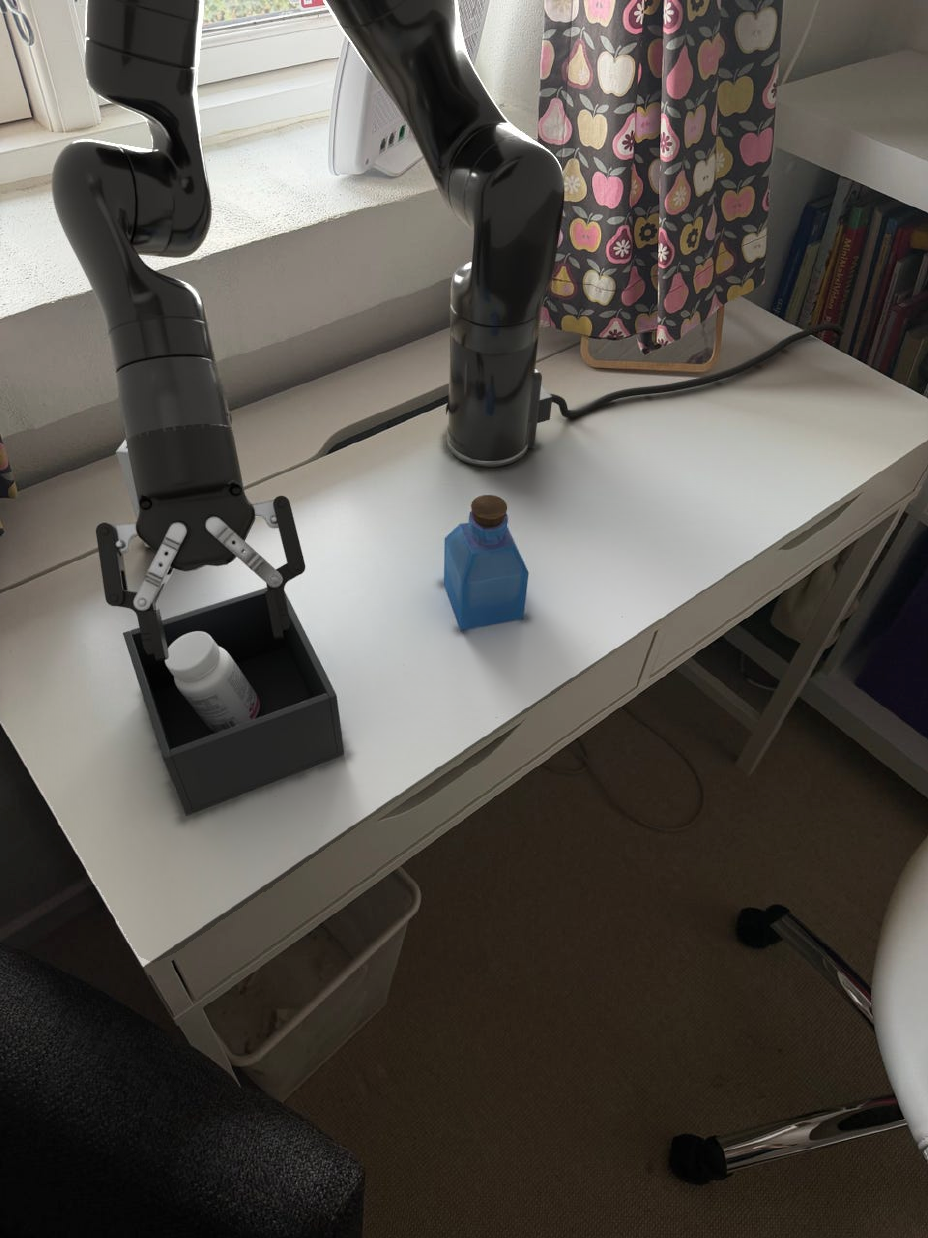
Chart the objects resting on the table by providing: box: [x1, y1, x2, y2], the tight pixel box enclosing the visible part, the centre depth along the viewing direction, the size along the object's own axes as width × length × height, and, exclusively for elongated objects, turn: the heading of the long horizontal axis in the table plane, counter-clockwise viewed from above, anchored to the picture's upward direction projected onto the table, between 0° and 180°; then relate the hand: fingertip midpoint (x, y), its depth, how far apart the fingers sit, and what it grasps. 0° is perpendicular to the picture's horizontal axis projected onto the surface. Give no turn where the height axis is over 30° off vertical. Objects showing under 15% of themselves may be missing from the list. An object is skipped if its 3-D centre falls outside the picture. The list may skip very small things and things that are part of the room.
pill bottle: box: [165, 631, 260, 733], centre depth 71 cm, size 5×5×8 cm
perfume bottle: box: [443, 494, 530, 631], centre depth 81 cm, size 6×6×12 cm
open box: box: [122, 587, 345, 816], centre depth 72 cm, size 13×13×8 cm
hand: (222, 648), depth 66 cm, fingers open, 8 cm apart
